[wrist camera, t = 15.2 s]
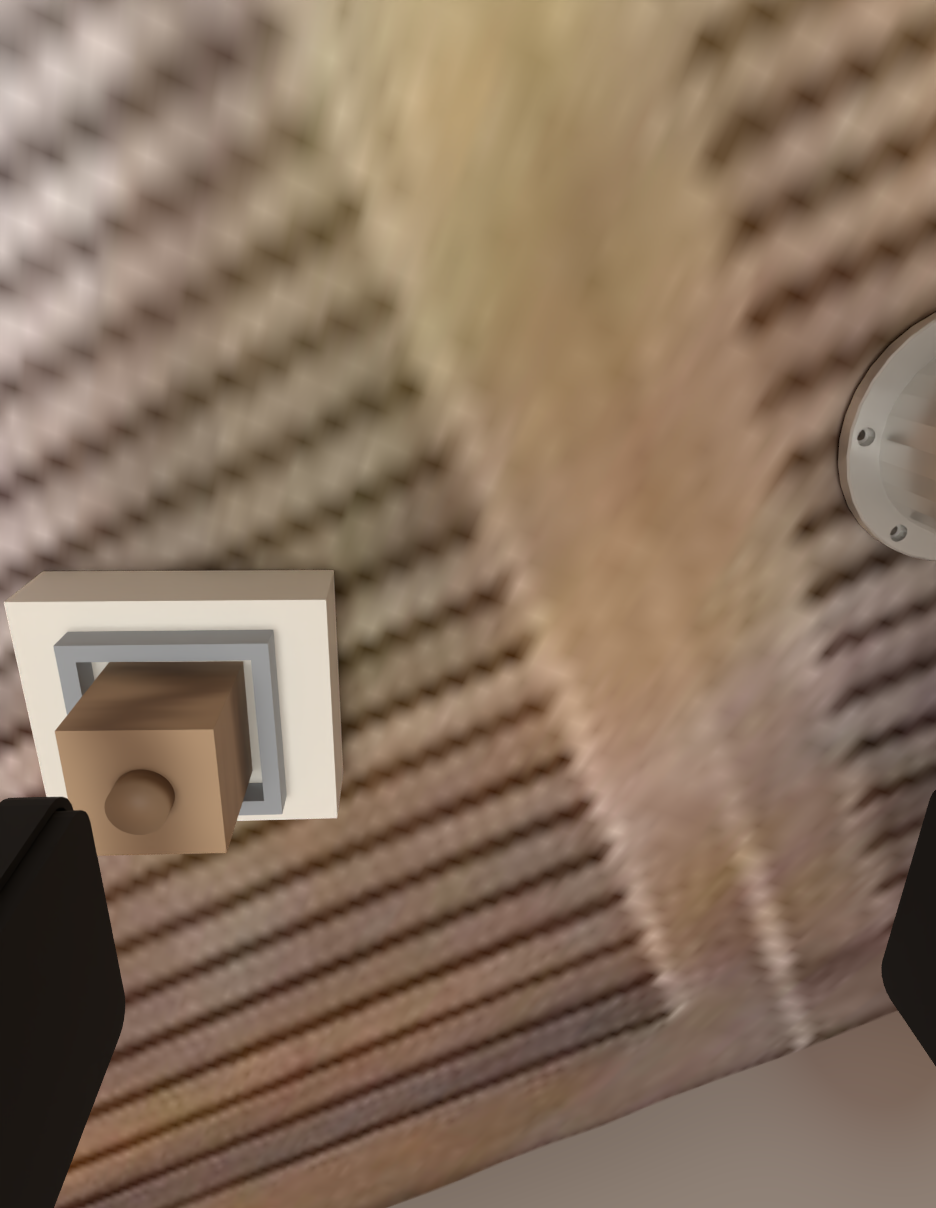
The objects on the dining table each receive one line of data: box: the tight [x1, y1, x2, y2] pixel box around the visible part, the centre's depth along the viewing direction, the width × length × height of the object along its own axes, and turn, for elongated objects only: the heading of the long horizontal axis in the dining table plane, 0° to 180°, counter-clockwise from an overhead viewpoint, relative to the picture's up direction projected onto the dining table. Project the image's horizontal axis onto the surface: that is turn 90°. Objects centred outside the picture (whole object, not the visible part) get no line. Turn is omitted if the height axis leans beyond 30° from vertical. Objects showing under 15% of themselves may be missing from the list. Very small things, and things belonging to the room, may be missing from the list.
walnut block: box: [55, 661, 253, 856], centre depth 34 cm, size 6×6×7 cm
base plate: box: [4, 570, 343, 821], centre depth 38 cm, size 14×12×6 cm
